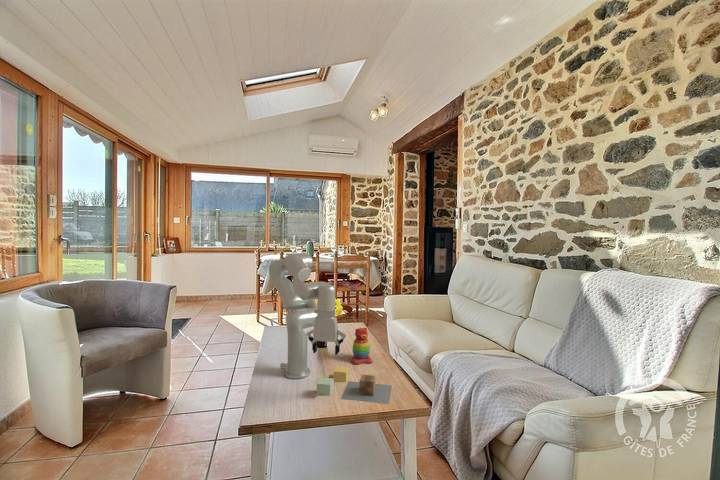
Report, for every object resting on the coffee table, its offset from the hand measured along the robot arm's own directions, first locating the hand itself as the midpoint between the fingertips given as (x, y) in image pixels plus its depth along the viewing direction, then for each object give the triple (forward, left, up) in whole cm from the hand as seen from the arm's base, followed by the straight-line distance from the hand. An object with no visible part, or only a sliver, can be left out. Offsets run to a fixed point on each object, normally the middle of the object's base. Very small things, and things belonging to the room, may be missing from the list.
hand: (325, 352), depth 145 cm
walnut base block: (+18, +3, -17) cm, 25 cm away
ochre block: (+4, +13, -18) cm, 23 cm away
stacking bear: (+9, +39, -18) cm, 44 cm away
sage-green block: (0, 0, -18) cm, 18 cm away
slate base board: (+18, +3, -18) cm, 26 cm away
